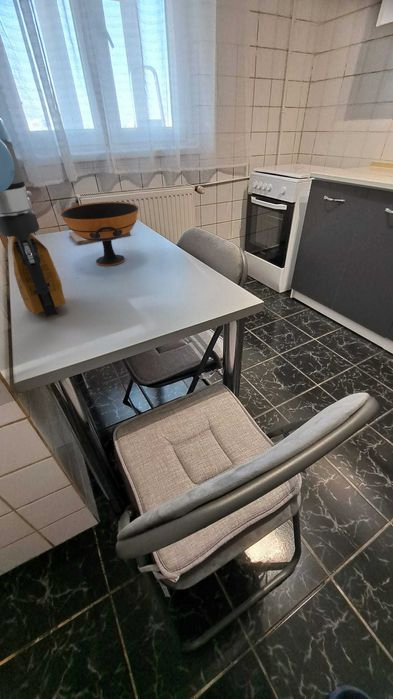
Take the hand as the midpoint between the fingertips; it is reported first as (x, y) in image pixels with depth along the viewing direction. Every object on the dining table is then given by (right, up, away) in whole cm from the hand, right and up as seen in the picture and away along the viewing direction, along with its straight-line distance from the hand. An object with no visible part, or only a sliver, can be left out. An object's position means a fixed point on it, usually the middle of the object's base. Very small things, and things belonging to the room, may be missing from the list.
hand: (51, 314), depth 73 cm
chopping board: (-9, +44, +63) cm, 77 cm away
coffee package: (-5, +3, +7) cm, 9 cm away
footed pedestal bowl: (+4, +24, +37) cm, 44 cm away
